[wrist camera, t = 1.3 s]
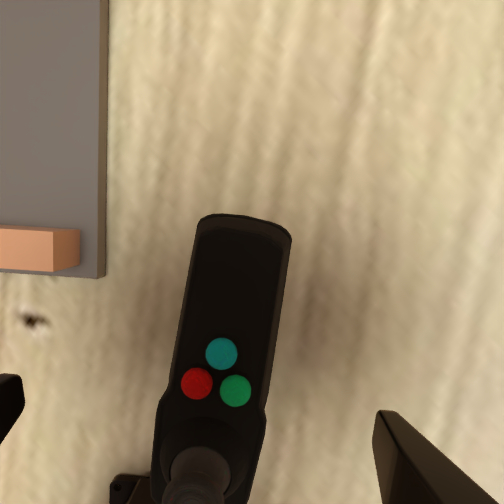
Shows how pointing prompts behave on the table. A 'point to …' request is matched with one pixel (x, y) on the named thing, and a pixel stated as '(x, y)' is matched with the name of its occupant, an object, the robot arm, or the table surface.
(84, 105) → the dock
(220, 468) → the controller
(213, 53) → the table surface
